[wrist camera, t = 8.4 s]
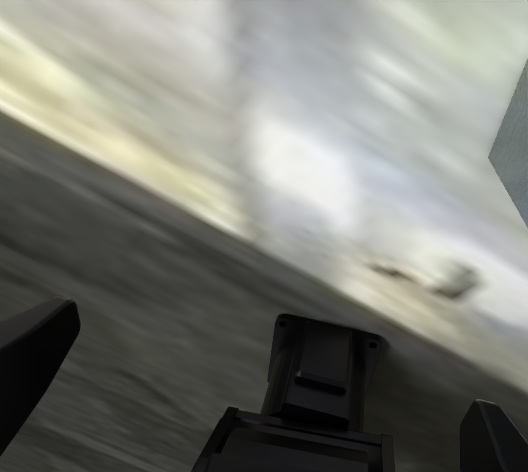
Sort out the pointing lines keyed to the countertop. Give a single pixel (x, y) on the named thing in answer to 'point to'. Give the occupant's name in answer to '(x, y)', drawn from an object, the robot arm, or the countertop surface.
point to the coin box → (514, 147)
